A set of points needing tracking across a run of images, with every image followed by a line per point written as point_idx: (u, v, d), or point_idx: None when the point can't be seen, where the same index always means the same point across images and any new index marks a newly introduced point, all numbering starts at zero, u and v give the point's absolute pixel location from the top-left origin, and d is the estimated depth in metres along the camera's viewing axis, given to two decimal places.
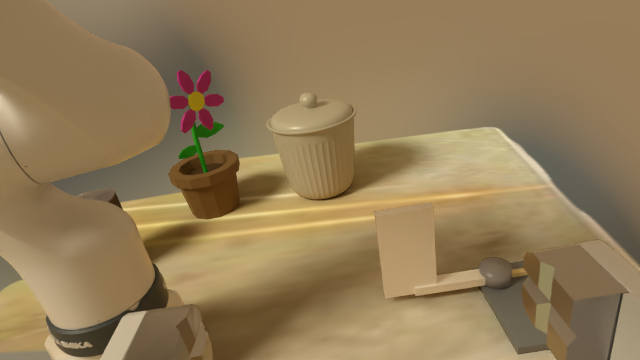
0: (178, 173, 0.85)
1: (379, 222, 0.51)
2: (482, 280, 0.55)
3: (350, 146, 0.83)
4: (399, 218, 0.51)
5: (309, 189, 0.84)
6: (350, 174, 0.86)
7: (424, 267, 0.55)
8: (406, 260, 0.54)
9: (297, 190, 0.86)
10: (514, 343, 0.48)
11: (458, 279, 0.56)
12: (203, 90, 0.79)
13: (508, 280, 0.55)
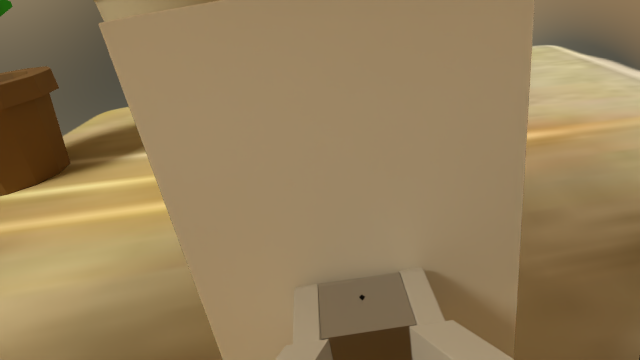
0: None
1: (138, 76, 0.07)
2: None
3: None
4: (276, 46, 0.07)
5: None
6: None
7: None
8: None
9: None
10: None
11: None
12: None
13: None
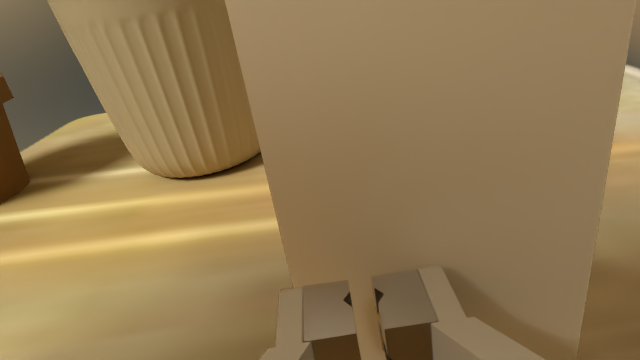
0: None
1: (246, 34, 0.09)
2: None
3: None
4: (349, 18, 0.08)
5: (153, 151, 0.34)
6: None
7: None
8: None
9: (135, 156, 0.36)
10: None
11: None
12: None
13: None
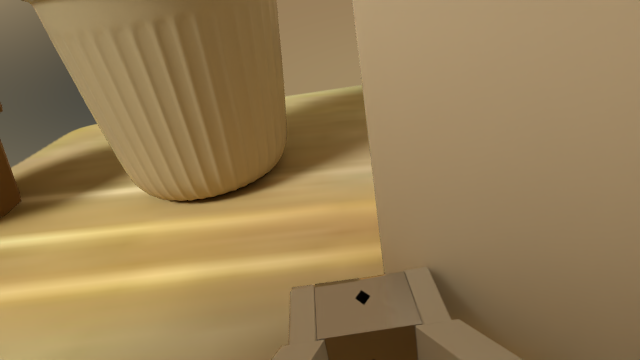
0: None
1: (371, 26, 0.07)
2: None
3: (261, 51, 0.30)
4: (515, 10, 0.06)
5: (151, 172, 0.31)
6: (269, 134, 0.32)
7: None
8: (523, 358, 0.08)
9: (131, 177, 0.33)
10: None
11: None
12: None
13: None
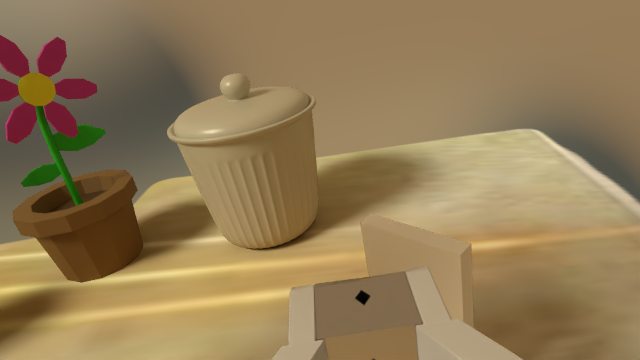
0: (27, 210, 0.52)
1: (366, 235, 0.28)
2: None
3: (306, 162, 0.50)
4: (397, 245, 0.26)
5: (239, 233, 0.51)
6: (309, 207, 0.53)
7: None
8: None
9: (224, 234, 0.53)
10: None
11: None
12: (51, 71, 0.47)
13: None
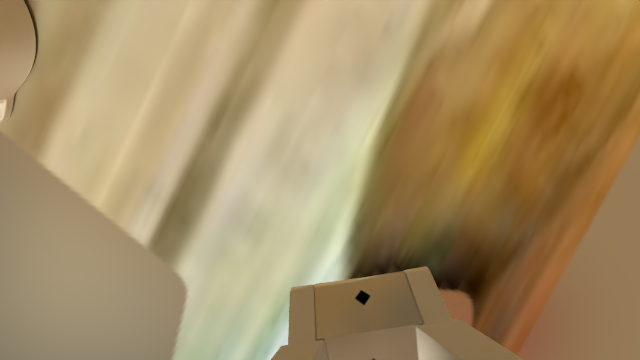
0: None
1: None
2: None
3: None
4: None
5: None
6: None
7: None
8: None
9: None
10: None
11: None
12: None
13: None
